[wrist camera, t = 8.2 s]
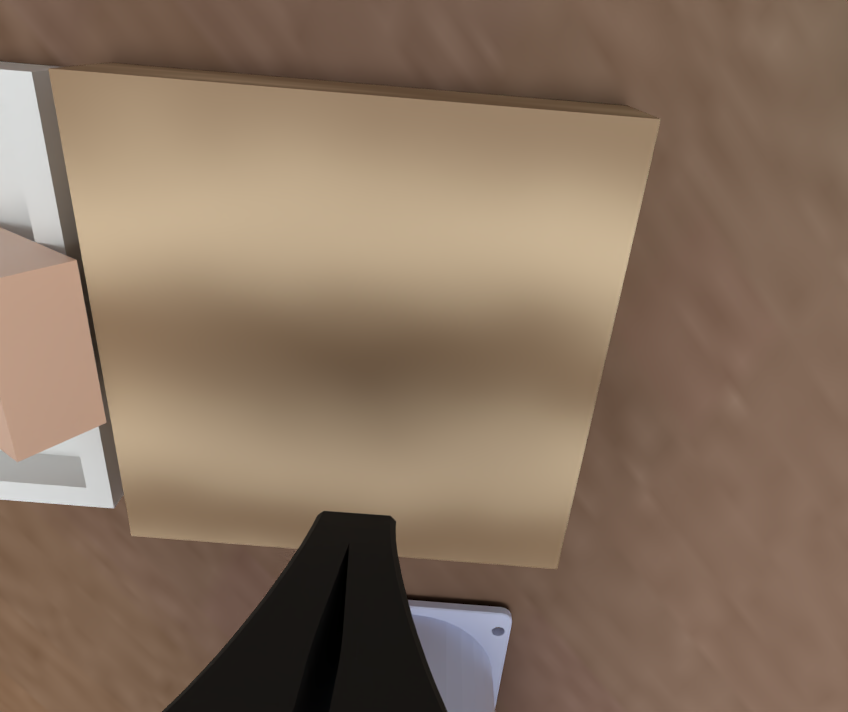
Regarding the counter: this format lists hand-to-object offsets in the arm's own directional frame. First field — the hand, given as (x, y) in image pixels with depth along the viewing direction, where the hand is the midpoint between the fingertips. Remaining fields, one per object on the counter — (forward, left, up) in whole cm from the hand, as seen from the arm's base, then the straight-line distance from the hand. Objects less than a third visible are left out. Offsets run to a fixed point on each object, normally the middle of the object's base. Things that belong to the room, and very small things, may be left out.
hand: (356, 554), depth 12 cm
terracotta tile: (0, +10, -8) cm, 13 cm away
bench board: (0, +1, -10) cm, 10 cm away
